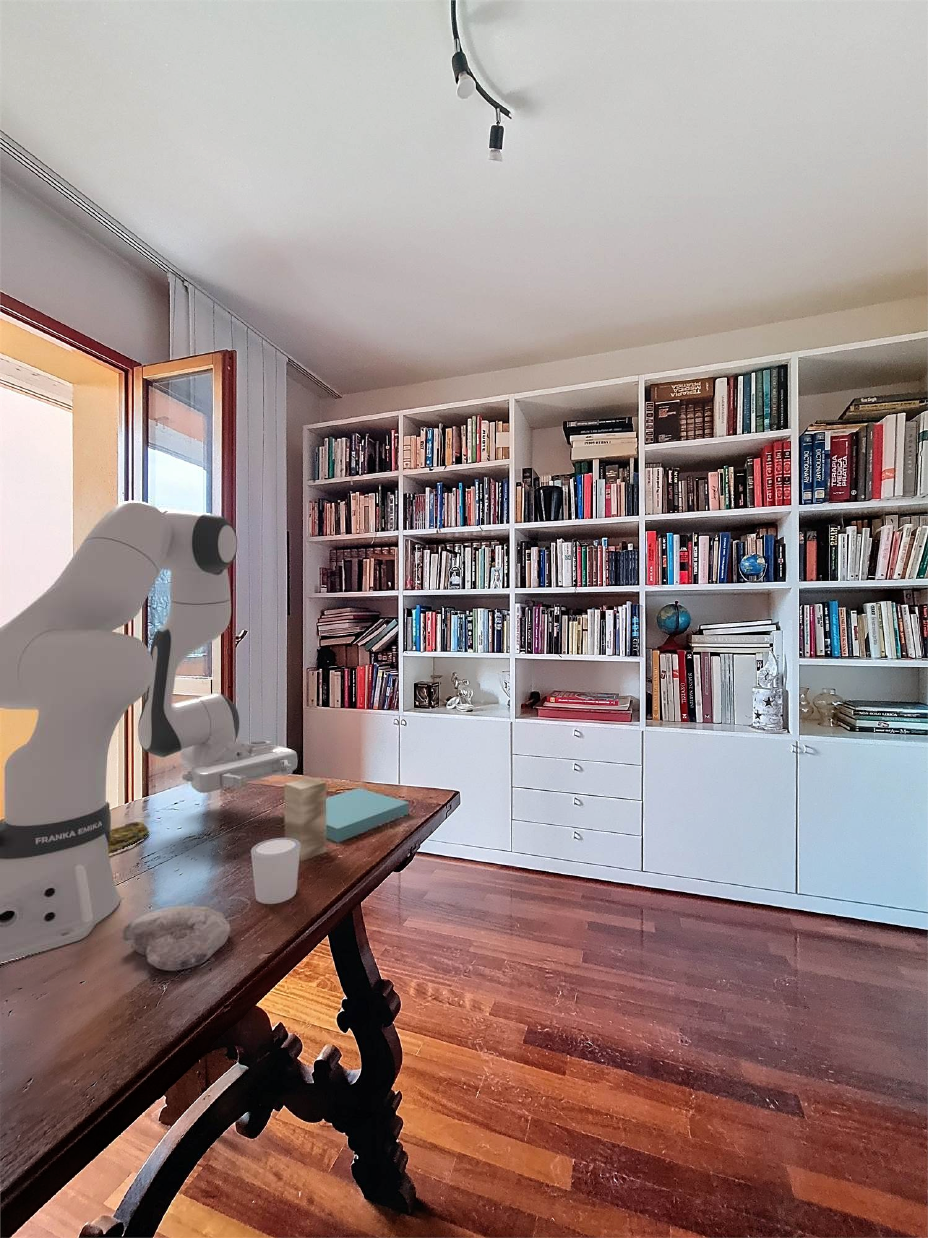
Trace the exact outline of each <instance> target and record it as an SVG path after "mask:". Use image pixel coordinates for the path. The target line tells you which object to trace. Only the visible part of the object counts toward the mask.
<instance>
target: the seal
mask: <svg viewBox="0 0 928 1238" xmlns="http://www.w3.org/2000/svg"><path fill="white" fill-rule="evenodd" d="M148 833H149V834H150V831H149V828H148V827H147V825H145V824H144V823H142V822H139V821H134V822H133V821H132V822H129V823H126V824H125V825H124V826H119V827H116V828H115V827H114V828H111V833H110V841H109V842H108V850H109V854H110V853H114V852H117V851H118V850H121V849H124V848H125V847H128V846H130V845H133V844H135V843H137V842H138V841H140V840H142V839H144V838H145V837H146V836H147V835H148ZM148 836H149V835H148Z"/></svg>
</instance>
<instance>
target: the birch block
mask: <svg viewBox="0 0 928 1238" xmlns="http://www.w3.org/2000/svg"><path fill="white" fill-rule="evenodd" d="M283 791H284V838H293V839H296V840H298V841H299V842H300V855H299V862H304V861H306V860H309V859H311V858H314V857H316V856H319V855H321V854H324V853H326V852H327V838H326V798H327V782H326V781H323V780H320V779H316V778H313V777H305V778H301V779H298V780H294V781H289V782H286V783H284V790H283Z"/></svg>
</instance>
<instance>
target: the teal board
mask: <svg viewBox="0 0 928 1238" xmlns="http://www.w3.org/2000/svg"><path fill="white" fill-rule="evenodd" d="M406 814H409V815H410V803H409V802H408V801H404V800H402V799H397V798H396V797H395V798H394V797H391V796H387V795H384V794H380V793H377V792H374V791H371V790H368V789H364V788H360V787H358V788H354V789H351V790H348V791H345V792H342V793H339V794H335V795H333V796H332V795H330V796H329V797H326V839H328V840H330V841H332V842H335V843H341V842H343V841H345V840H347V839H351V838H353V837H356V836H358V835H360V834H363V833H362V832H364V833H365V831H366V832H368V830H369V829H371V830H373V829H372V828H373V827H376V826H379V825H380V824H383V823H386V822H387V821H390V820H392V819H396V818H399V817H401V816H404V815H406ZM404 817H405V816H404ZM399 819H400V818H399ZM379 827H380V826H379ZM376 828H377V827H376ZM369 831H370V830H369Z"/></svg>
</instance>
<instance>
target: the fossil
mask: <svg viewBox="0 0 928 1238" xmlns="http://www.w3.org/2000/svg"><path fill="white" fill-rule="evenodd" d="M230 926H231V925H230V923H229V922H228V921H227V920H226V917H225V915H224V913H223V912H220V911H216V910H213V909H212V908H210V907H209V906H205V905H202V906H195V905H175V906H174V905H173V906H169V907H165V908H160V909H157V910H152V911H151V912H147V913H145V914H143V915H140V916H139V917H137V918H135V919H133V920H132V921H130V922H129V923H127V924H126V925H125V926H124V927H123V929H122V937H121V938H122V940H124V941H130V940H131V949H134V950H135V951H136V953H138V954H140V955H142V956H146V958H147V962H148V963H149V964H150V965H152V966H153V967H155V968H157V969H159V970H162V971H163V970H164V971H170V972H172V971H179V970H185V969H190V968H193V967H195V966H199V965H201V964H202V963H204V962H206V961H207V960H208V959H209V958H210V957H211V956H212V955H214V953H216V951H218V950H219V949H220V948H221V947H222V946H224V945H225V943H226V942H227V941H228V938H229V935H230V934H231V927H230Z"/></svg>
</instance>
